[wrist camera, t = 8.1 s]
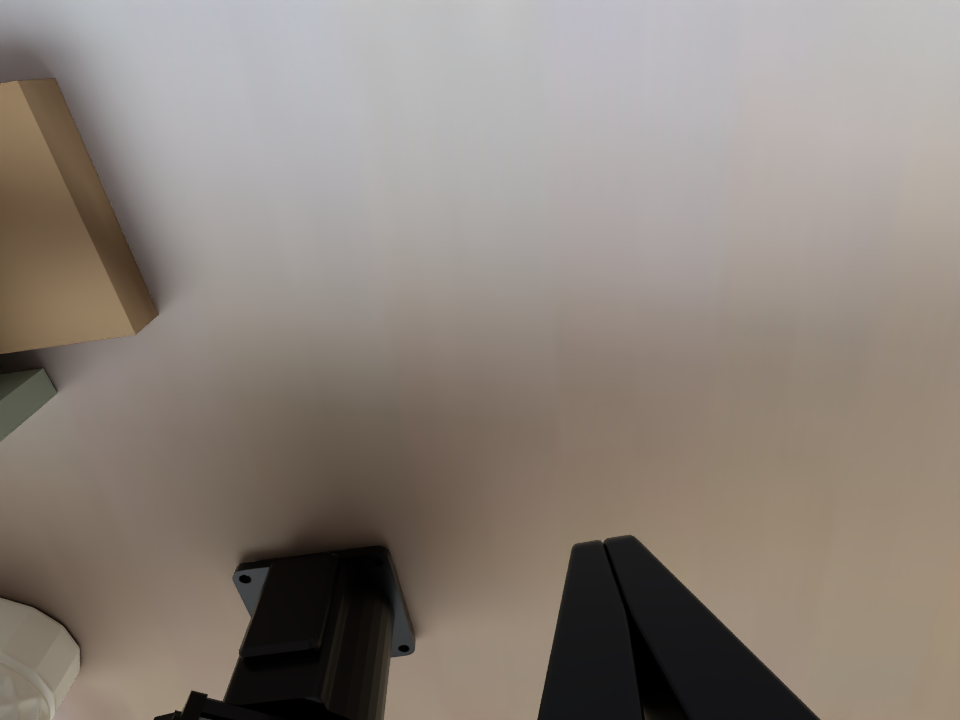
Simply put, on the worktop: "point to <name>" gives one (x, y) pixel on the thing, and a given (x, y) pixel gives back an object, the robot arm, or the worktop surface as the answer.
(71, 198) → the board
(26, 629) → the white cup
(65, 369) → the worktop surface
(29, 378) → the green channel beam
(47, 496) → the worktop surface
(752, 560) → the worktop surface
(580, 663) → the robot arm
